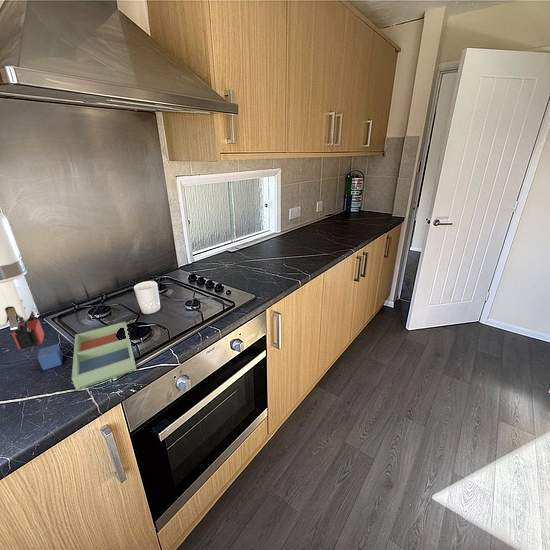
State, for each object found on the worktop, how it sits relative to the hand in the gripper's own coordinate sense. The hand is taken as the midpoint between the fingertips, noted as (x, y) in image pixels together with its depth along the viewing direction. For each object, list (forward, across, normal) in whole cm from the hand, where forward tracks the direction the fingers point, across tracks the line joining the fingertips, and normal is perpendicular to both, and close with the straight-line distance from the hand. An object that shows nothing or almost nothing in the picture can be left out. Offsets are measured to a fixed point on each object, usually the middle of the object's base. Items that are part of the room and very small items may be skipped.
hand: (31, 340), depth 70 cm
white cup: (+13, -27, +29) cm, 42 cm away
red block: (0, 0, 0) cm, 0 cm away
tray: (+13, -5, +13) cm, 19 cm away
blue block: (+14, -10, 0) cm, 17 cm away
